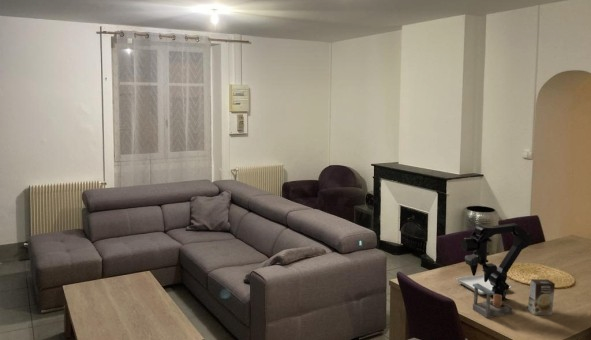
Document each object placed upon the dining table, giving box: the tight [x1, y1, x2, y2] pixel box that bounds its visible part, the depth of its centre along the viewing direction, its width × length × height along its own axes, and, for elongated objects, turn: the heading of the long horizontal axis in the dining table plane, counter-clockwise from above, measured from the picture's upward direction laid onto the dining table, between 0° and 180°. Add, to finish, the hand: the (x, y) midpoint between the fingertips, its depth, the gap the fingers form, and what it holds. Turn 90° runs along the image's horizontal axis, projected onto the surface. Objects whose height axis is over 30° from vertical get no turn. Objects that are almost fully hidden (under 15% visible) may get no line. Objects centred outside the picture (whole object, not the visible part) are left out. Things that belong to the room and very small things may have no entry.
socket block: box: [472, 283, 514, 319], centre depth 244 cm, size 16×12×13 cm
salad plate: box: [455, 273, 511, 295], centre depth 275 cm, size 21×21×3 cm
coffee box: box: [527, 278, 556, 316], centre depth 243 cm, size 9×6×16 cm
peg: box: [492, 294, 503, 308], centre depth 246 cm, size 4×4×8 cm
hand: (479, 278), depth 256 cm, fingers open, 9 cm apart
